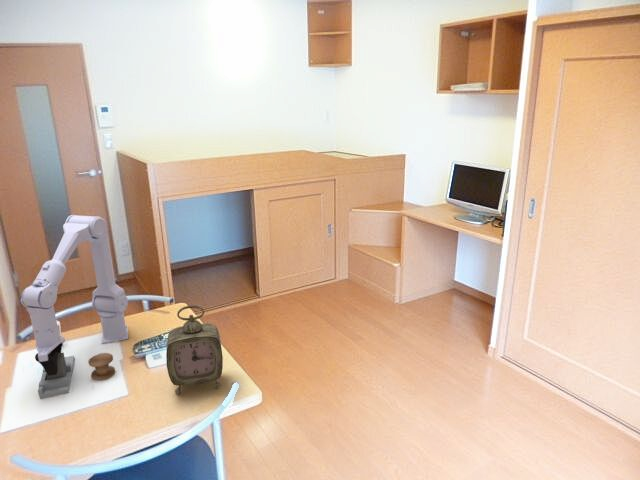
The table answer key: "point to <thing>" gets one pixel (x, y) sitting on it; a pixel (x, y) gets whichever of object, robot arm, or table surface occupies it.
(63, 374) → the dark grey block
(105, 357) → the spool
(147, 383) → the table surface
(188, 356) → the tabletop clock
